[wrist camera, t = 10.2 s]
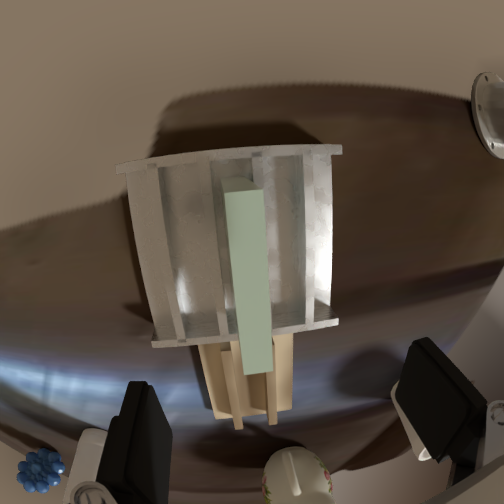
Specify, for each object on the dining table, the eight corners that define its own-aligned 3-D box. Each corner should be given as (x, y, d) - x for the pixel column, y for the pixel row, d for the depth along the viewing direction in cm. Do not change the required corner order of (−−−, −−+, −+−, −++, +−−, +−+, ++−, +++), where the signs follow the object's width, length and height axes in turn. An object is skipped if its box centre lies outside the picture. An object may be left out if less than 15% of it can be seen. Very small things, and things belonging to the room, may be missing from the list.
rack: (324, 144, 26) (341, 143, 22) (324, 306, 31) (337, 325, 27) (128, 161, 24) (114, 163, 20) (159, 326, 29) (153, 348, 26)
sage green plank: (243, 175, 24) (263, 189, 15) (253, 302, 28) (273, 371, 19) (220, 178, 24) (224, 192, 15) (233, 305, 28) (243, 375, 19)
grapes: (38, 455, 37) (24, 495, 26) (21, 437, 35) (4, 479, 23) (78, 464, 38) (67, 510, 27) (62, 446, 36) (47, 495, 24)
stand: (289, 315, 31) (299, 336, 27) (289, 401, 36) (296, 422, 32) (196, 327, 30) (195, 349, 26) (215, 411, 35) (216, 433, 31)
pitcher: (313, 417, 38) (342, 491, 25) (322, 464, 44) (342, 519, 31) (242, 436, 37) (254, 513, 24) (267, 479, 43) (279, 536, 31)
